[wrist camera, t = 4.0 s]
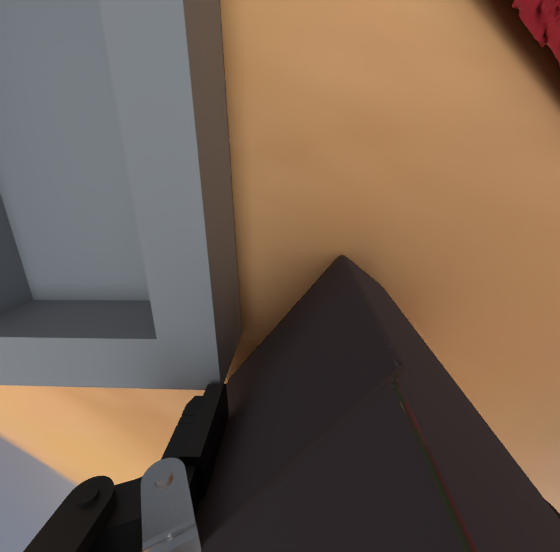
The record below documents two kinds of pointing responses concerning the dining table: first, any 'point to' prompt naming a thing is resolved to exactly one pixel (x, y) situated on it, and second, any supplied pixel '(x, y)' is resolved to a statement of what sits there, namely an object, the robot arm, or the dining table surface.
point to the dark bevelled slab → (361, 442)
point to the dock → (115, 195)
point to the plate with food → (542, 21)
